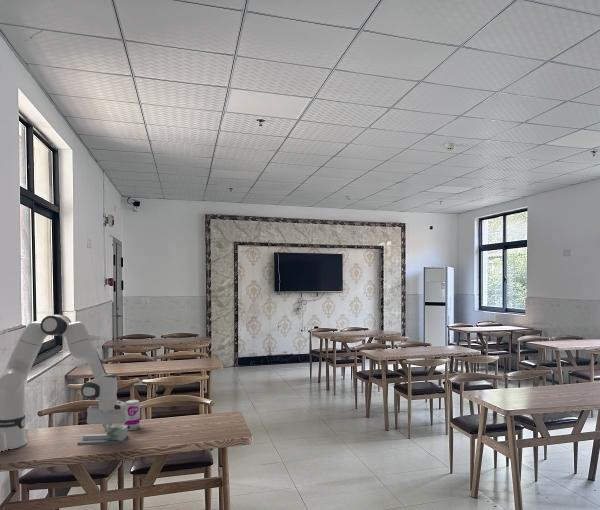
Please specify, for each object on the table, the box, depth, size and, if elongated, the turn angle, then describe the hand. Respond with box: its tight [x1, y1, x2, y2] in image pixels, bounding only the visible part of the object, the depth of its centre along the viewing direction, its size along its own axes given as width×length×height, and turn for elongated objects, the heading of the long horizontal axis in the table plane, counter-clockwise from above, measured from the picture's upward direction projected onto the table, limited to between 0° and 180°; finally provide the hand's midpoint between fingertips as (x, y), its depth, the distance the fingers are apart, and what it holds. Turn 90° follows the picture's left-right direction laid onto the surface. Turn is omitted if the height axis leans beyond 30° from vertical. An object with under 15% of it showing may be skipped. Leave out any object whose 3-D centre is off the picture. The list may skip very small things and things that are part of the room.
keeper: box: [106, 424, 124, 440], centre depth 229 cm, size 6×7×5 cm
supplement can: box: [123, 399, 141, 431], centre depth 248 cm, size 8×8×15 cm
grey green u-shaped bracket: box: [77, 425, 129, 446], centre depth 228 cm, size 22×10×6 cm, turn 95°
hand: (107, 432), depth 228 cm, fingers closed
